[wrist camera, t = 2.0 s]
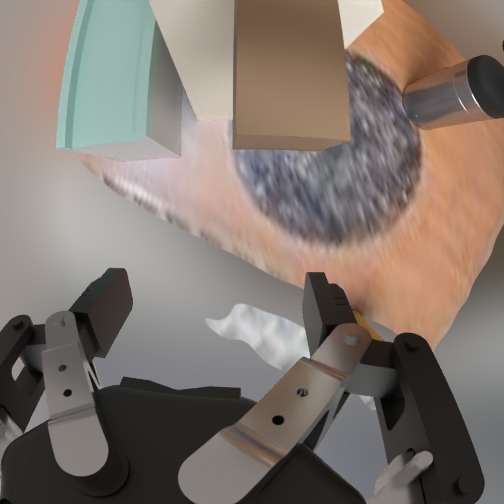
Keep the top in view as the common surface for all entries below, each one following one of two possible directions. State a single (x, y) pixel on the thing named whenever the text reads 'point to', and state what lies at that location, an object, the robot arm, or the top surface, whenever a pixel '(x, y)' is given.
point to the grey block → (164, 118)
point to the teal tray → (109, 75)
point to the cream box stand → (225, 46)
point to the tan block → (289, 75)
